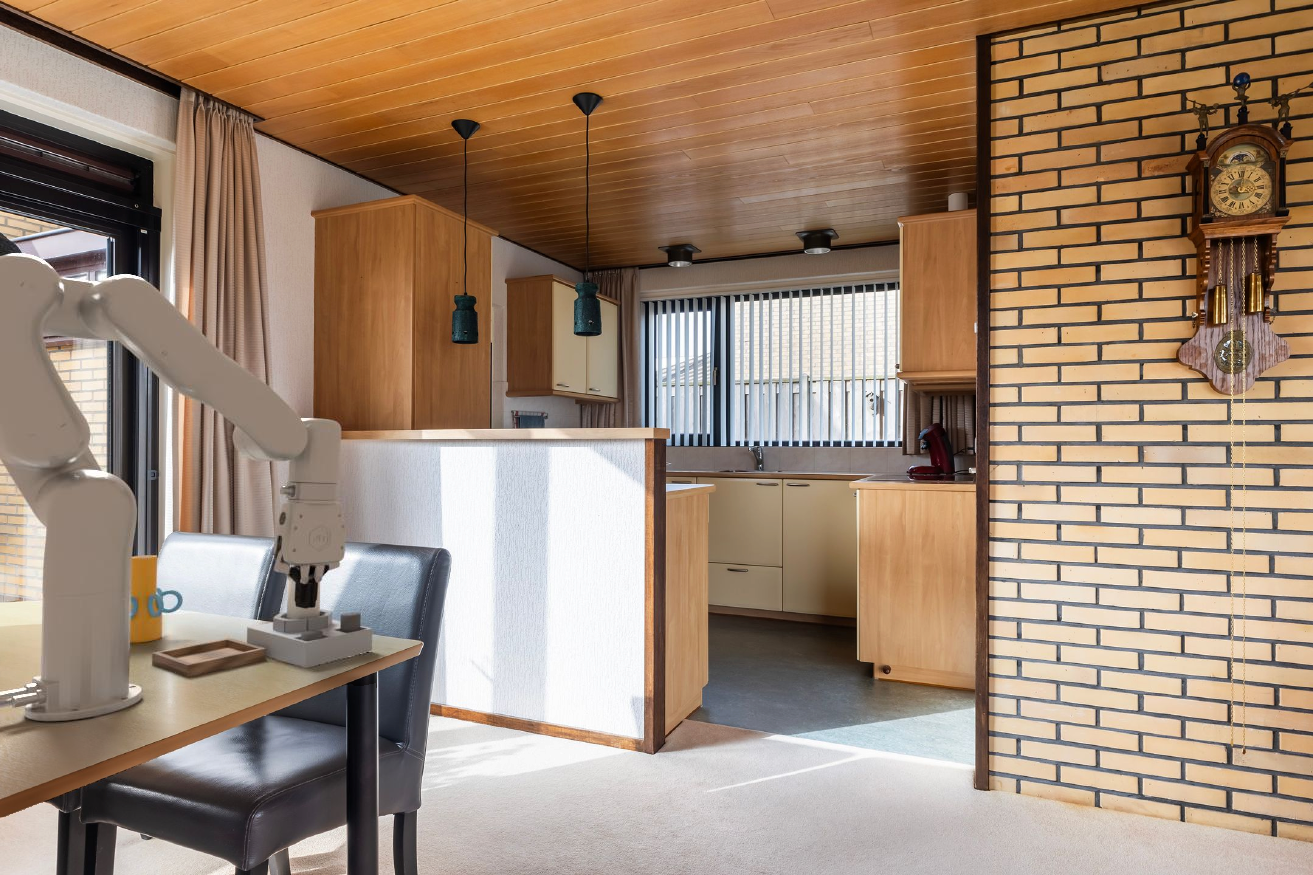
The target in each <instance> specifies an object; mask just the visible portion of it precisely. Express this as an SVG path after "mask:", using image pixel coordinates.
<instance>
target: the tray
mask: <svg viewBox="0 0 1313 875" xmlns="http://www.w3.org/2000/svg"><path fill="white" fill-rule="evenodd" d="M265 660H267V657H266V648H263V647H259V646H256V645H252V644H249V643H247V642H244V641H241V640H237V639H234V638H230V637H228V638H222V639H217V640H212V641H207V642H201V643H197V644H192V645H191V644H190V645H185V646H181V647H176V648H170V649H165V650H160V651H155V652H152V653H151V664H152V665H153V664H154V665H153V666H156V667H158V668H161V667H162V669H164V670H166V671H169V670H170V672H172V673H175V672H176V673H175V674H178V673H179V674H178V675H180V674H181V675H182V676H183V675H184V677H186V676H190V677H193V675H194V676H199V675H203V674H206V673H211V672H216V671H220V670H224V669H228V667H230V668H234V667H238V666H242V664H243V665H246V664H247V665H248V664H251V663H256V661H257V662H262V661H265ZM202 673H203V674H202Z"/></svg>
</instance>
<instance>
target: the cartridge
mask: <svg viewBox="0 0 1313 875" xmlns="http://www.w3.org/2000/svg"><path fill="white" fill-rule="evenodd" d="M307 566H308V565H307ZM285 576H286V578H287V579H286V580H287V581H286V582H287V583H286V612H287V619H308V618H313V617H319V616H320V610H321V608H320V607H321V582H318V594H317V600H316V606H315V607H314V608H310V607H309V608H306V609H304V608H300V607H296V605H295V600H294V598H295V583H296V582H293V581H292V578H291V577H290V576H289V575H288V574H286V573H285Z"/></svg>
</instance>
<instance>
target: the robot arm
mask: <svg viewBox="0 0 1313 875" xmlns="http://www.w3.org/2000/svg"><path fill="white" fill-rule="evenodd" d="M44 335H47V336H48V335H49V336H55V337H58V336H59V337H65V338H73V339H82V340H83V339H84V340H93V341H94V340H96V341H109V342H110V341H111V342H112V341H113V342H119V343H121V345H122V346H124V347H125V348H126V349H127V350H129V351H130V353H132V354H133V356H134V357H136V358H137V359H138V360H139V361H141V362H142V363H143V365H145V366H146V367H147V368H148V369H149V370H150V371H151V372H152V373H153V374H154V375H156V377H158V378H159V379H160V380H161V381H162V382H163V383H164V384H165V385H167V386H168V387H169V388H171V390H173V391H175V392H176V393H179V394H181V395H182V396H184V397H185V398H187V399H192V400H193V401H196V402H198V403H200V404H203V405H205V406H206V407H209V408H211V409H212V410H214V411H215V412H217V413H218V414H220V415H222V416H223V417H224V418H225V419H227V420H228V421H229V422H231V423H232V424H233V425H234V426H235V428H234V430H233V432H232V443H233V446H234V447H235V449H236V451H238V452H239V453H240V455H242V456H244V457H245V458H247V459H249V460H252V461H255V462H256V461H258V462H286V461H288V474H287V476H288V479H287V483H286V485H285V486H281V487H280V489H279V493H280V495H281V496H285V499H286V501H283V502H282V504H281V508H280V512H279V514H278V518H277V522H276V524H277V525H276V528H275V536H274V544H273V545H274V546H273V560H274V562H275V564H274V567H273V571H274V572H277V573H281V574H285V575H286V574H288V575H289V576H290V577H291V578H292V581H293V582H296V583H295V598H294V600H295V605H296V607H300V608H304V609H306V608H309V607H310V608H314V607H315V606H316V600H317V594H318V582H320V583H321V582H322V580H323V577H324V576H325V575H326V574H327V573H328V572H329V571H332V570H335V569H337V568H339V567H340V566H341V563H340V562H341V561H343V560H344V558H345V553H346V527H345V526H346V523H345V516H344V515H345V514H344V509H343V508H344V507H343V505H342V502H338V493H339V490H338V489H339V474H340V458H341V444H342V442H341V441H342V427H341V425H340V423H339V422H338V421H336V420H333V419H326V418H313V417H312V418H311V417H310V418H309V417H306V418H302V417H300V415H298V413H297V412H296V411H295V410H294V409H293V408H292V407H291V406H290V405H289V404H288V403H287V402H286V401H285V400H284V399H283V398H282V397H281V396H280V395H279V394H278V393H277V392H276V391H275V390H273V388H271V387H270V386H269V385H268V384H267V383H266V382H264V381H263V380H262V379H260V378H259V377H258V376H256V375H255V374H253V373H252V372H251V371H249V370H248V369H246V368H245V367H244V366H242V365H240V364H239V363H238V362H237V361H235V360H234V359H232V358H231V357H230V356H228V355H226V354H225V353H224V352H222V351H221V350H220V349H219V348H218V347H217V346H216V345H215V344H213V343H212V342H211V341H210V339H208V338H207V337H206V335H204V334H203V333H202V332H201V331H200V330H199V329H198V328H197V327H196V326H195V325H194V324H193V323H192V321H190V320H189V319H188V317H186V316H185V315H184V314H183V313H182V312H181V311H180V310H179V308H177V307H176V306H175V305H174V304H173V303H171V301H170V300H169V299H168V298H166V296H165V295H164V294H163V293H161V292H160V290H158V288H156V287H155V286H154V285H153V284H151V283H150V282H148V281H147V280H146V279H144V278H142V277H139V276H136V275H132V274H118V275H114V276H110V277H107V278H105V279H103V280H101V281H89V280H81V279H75V278H68V277H61V276H60V275H59V273H58V272H57V271H56V269H55V268H54V267H53V266H51V265H50V264H49V263H48V262H46V261H45V260H43V259H42V258H39V257H37V256H34V255H32V254H27V253H18V252H17V253H8V254H4V255H0V461H1V463H2V464H3V466H4V467H5V470H7V473H8V474H9V476H10V477H11V480H12V481H13V482H14V484H15V486H16V487H17V489H18V490H19V492H20V493H21V495H22V496H23V498H24V500H25V502H26V503H27V505H28V507H30V509H31V511H32V513H33V514H34V515H35V517H36V519H37V520H38V521H39V522H40V523H41V524H42V526H44V527H45V530H46V532H45V533H46V534H45V542H44V543H45V544H44V554H43V563H42V564H43V565H42V566H43V567H42V592H41V593H42V611H41V612H42V616H41V618H42V619H41V651H40V652H41V656H40V658H41V660H40V661H41V662H40V675H38V676H33V677H32V682H31V683H28V684H25V685H23V688H16V689H7V690H4V691H0V708H1V709H2V708H6V707H10V706H11V707H12V709H15V708H20V707H24V713H23V714H24V716H25V718H27V719H29V720H33V721H39V722H62V721H63V722H64V721H72V720H73V721H74V720H80V719H88V718H92V717H97V716H103V715H106V714H109V713H110V714H111V713H113V712H117V711H120V710H123V709H125V708H129V707H130V706H133V705H135V704H136V703H138V702H139V701H141V699H142V698H143V694H144V693H143V688H142V687H141V686H140V685H137V684H134V683H130V660H131V657H130V652H131V643H130V613H131V564H132V557H133V548H134V540H135V533H136V525H137V519H138V518H137V517H138V507H137V500H136V496H135V495H134V493H133V491H132V489H131V488H130V486H129V485H128V484H127V483H126V482H125V481H124V480H123V479H121V477H119V476H116V475H115V474H112V473H110V472H107V471H103V469H102V468H101V466H100V465H99V463H98V461H97V460H96V457H95V456H94V454H93V452H92V451H91V449H90V447H89V445H90V441H91V428H90V425H89V422H88V420H87V419H86V417H85V415H84V414H83V413H82V411H81V409H80V408H79V406H78V405H77V403H76V402H75V400H74V399H73V396H72V395H71V393H70V392H69V390H68V388H67V386H66V385H65V383H64V382H63V380H62V377H61V376H60V374H59V372H58V370H57V369H56V366H55V364H54V363H53V360H52V358H51V356H50V354H49V353H48V350H47V346H46V344H45V341H44ZM307 565H308V566H307Z"/></svg>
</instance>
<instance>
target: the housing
mask: <svg viewBox="0 0 1313 875" xmlns="http://www.w3.org/2000/svg"><path fill="white" fill-rule="evenodd" d="M246 628H247V629H246V643H249V644H252V645H256V646H259V647H263V648H266V656H267V657H266V658H270V659H273V658H274V659H273V660H277V661H280V662H283V663H284V662H285V663H287V664H290V665H294V666H298V667H300V668H304V669H307V668H313V667H316V666H319V664H320V665H324V664H327V663H326V662H328V663H330V662H329V661H333V662H335V661H334V660H336V659H341V660H343V659H342V658H345V659H347V658H346V657H348V656H353V655H357V656H359V655H358V654H360V653H364V652H369V651H371V650H372V651H373V628H372V627H367V626H362V625H361V628H360V630H359V631H354V632H350V633H344V632H340V620H336V619H333V611H332V610H331V611H330V610H326V609H321V608H320V616H319V617H313V618H308V619H287V611H285V612H284V611H283V612H280V613H278V614H276V615H275V616H274V617H272V622H269V623H263V624H257V625H253V626H248V627H246ZM306 631H322V632H323V638H322V639H317V640H313V641H308V642H307V641H303V640H301V633H303V632H306ZM369 653H370V652H369ZM353 657H354V656H353Z"/></svg>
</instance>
